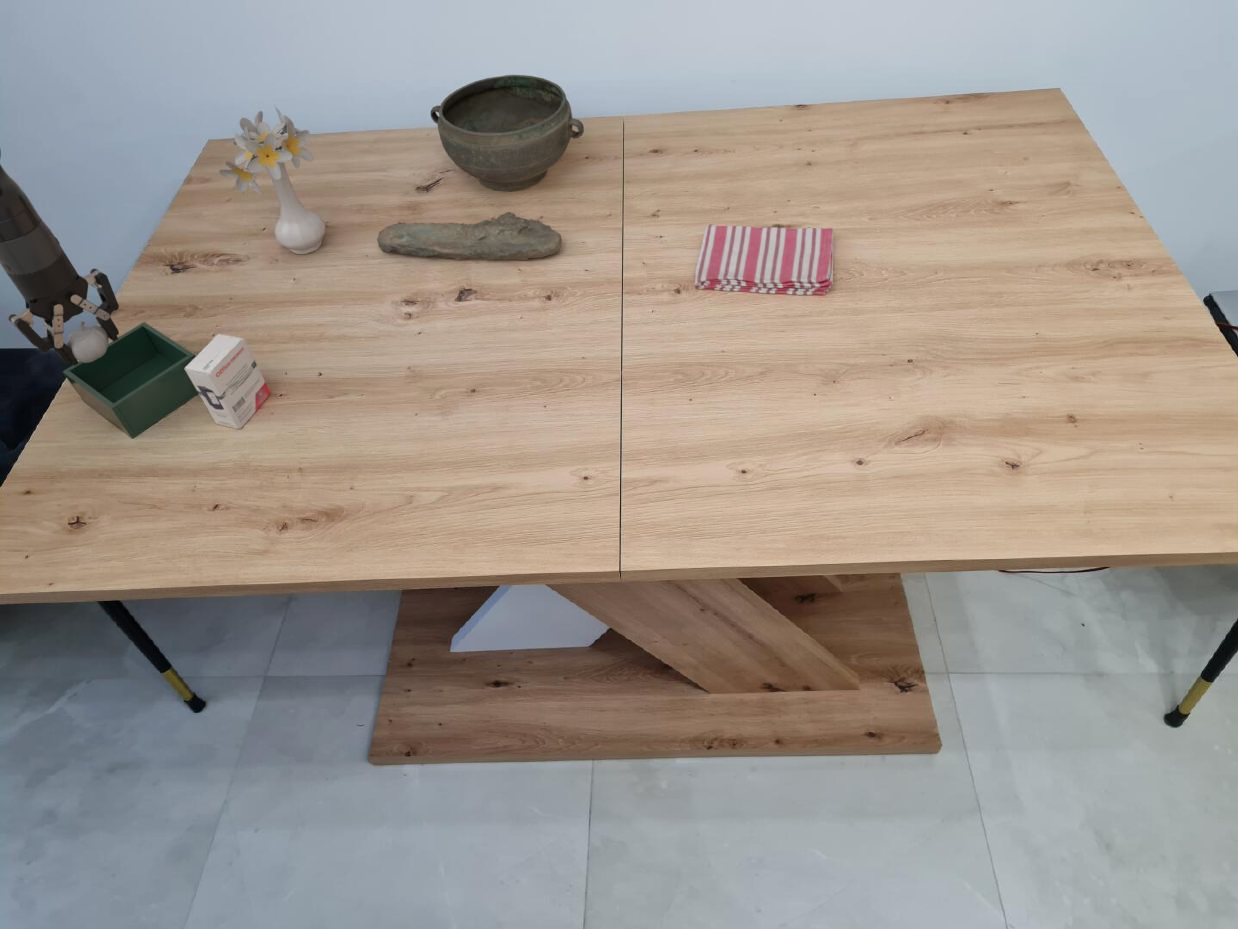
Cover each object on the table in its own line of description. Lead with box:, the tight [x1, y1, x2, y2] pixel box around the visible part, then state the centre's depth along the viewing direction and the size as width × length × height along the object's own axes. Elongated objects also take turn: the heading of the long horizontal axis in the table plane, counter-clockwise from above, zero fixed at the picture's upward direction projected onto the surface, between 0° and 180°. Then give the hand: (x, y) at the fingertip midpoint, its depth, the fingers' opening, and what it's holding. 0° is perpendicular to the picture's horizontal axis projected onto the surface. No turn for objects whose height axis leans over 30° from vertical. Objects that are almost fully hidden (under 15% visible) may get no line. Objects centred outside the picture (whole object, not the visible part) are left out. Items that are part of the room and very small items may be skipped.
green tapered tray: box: [62, 321, 199, 440], centre depth 143 cm, size 15×15×7 cm
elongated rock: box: [376, 211, 563, 261], centre depth 165 cm, size 35×5×10 cm
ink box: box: [184, 333, 272, 430], centre depth 137 cm, size 8×5×12 cm, turn 160°
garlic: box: [66, 321, 110, 363], centre depth 133 cm, size 6×5×5 cm
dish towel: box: [693, 223, 834, 296], centre depth 156 cm, size 17×23×4 cm
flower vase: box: [218, 104, 327, 255], centre depth 161 cm, size 13×18×25 cm
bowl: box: [430, 74, 585, 193], centre depth 178 cm, size 32×26×15 cm
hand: (93, 350), depth 134 cm, fingers closed on garlic, 6 cm apart
